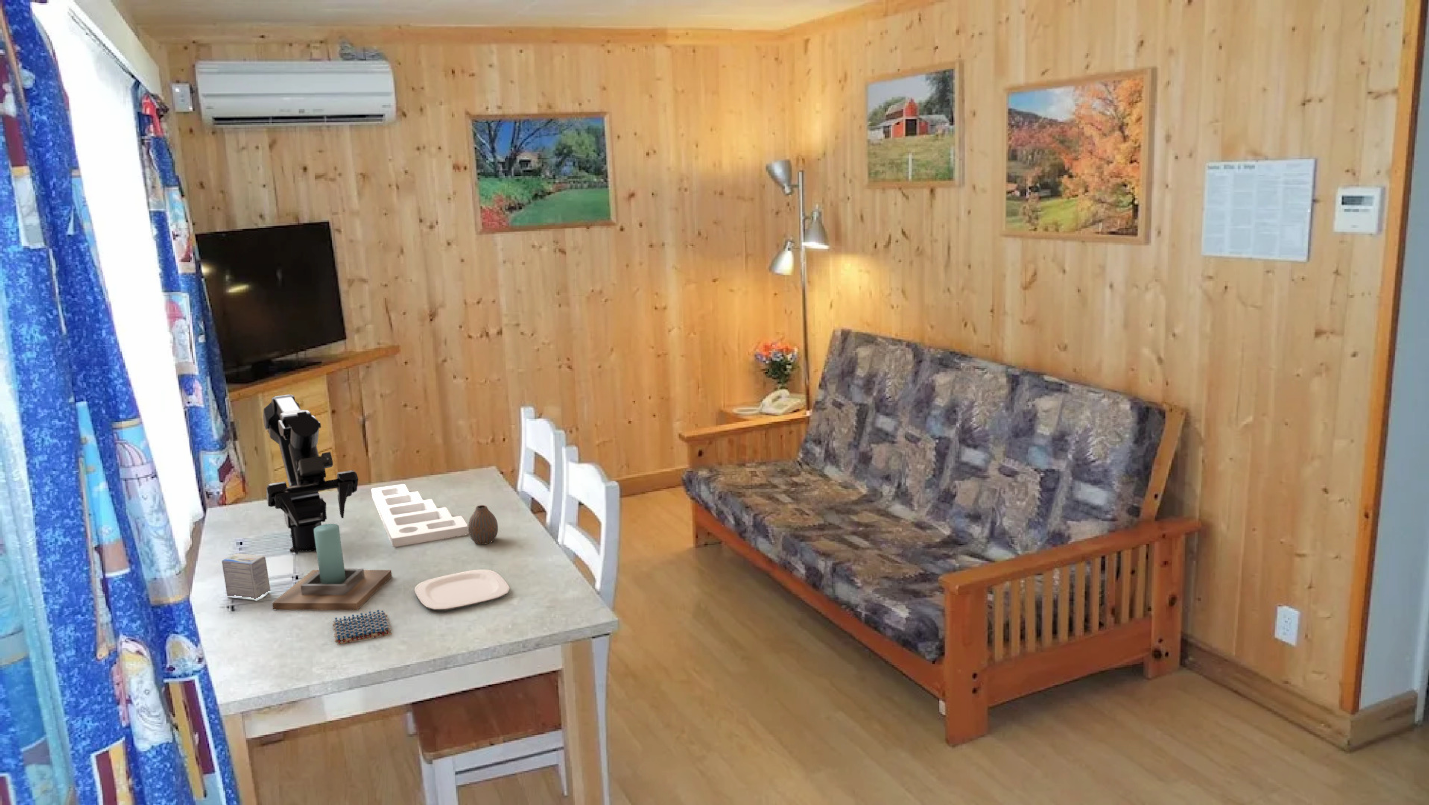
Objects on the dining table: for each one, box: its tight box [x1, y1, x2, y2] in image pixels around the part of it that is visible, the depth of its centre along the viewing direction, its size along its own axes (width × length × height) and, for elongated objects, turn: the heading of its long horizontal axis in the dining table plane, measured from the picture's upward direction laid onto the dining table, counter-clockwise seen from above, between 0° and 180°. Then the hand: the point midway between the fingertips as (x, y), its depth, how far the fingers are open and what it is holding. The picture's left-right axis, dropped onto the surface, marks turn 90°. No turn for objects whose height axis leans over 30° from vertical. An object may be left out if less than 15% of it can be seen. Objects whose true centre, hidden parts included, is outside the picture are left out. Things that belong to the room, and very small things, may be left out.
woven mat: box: [332, 609, 392, 646], centre depth 205 cm, size 10×11×2 cm
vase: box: [467, 504, 499, 545], centre depth 251 cm, size 7×7×9 cm
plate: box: [414, 569, 511, 611], centre depth 221 cm, size 18×18×2 cm
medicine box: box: [221, 553, 272, 599], centre depth 223 cm, size 8×4×9 cm, turn 71°
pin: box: [314, 523, 346, 584], centre depth 222 cm, size 5×5×13 cm
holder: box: [371, 483, 469, 548], centre depth 274 cm, size 45×18×3 cm, turn 24°
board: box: [271, 568, 393, 611], centre depth 224 cm, size 18×18×4 cm
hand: (320, 521), depth 228 cm, fingers open, 9 cm apart
